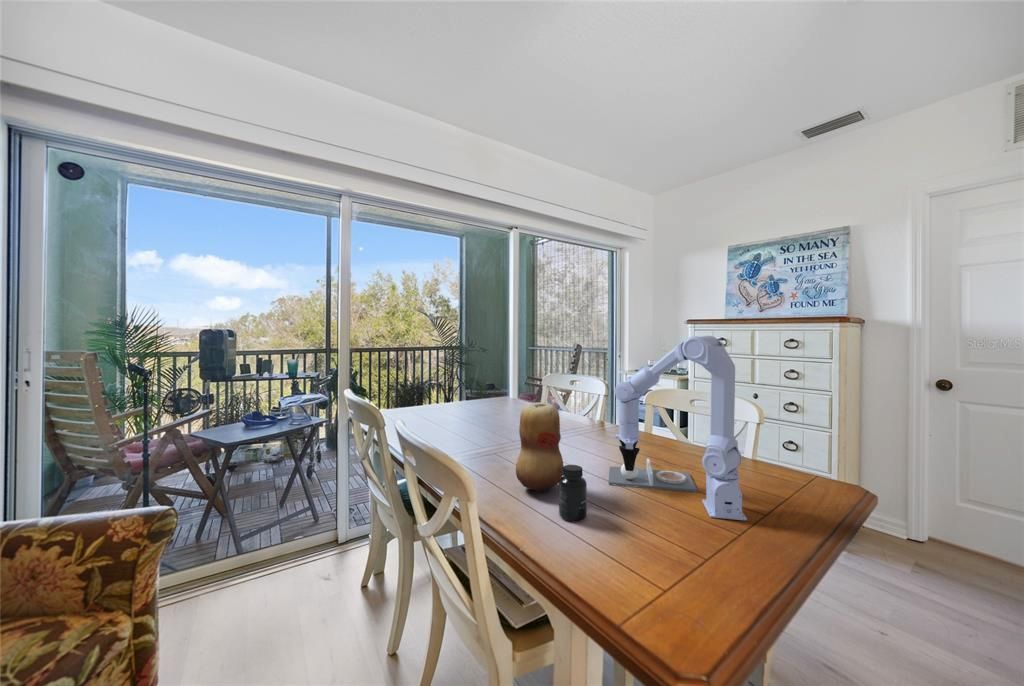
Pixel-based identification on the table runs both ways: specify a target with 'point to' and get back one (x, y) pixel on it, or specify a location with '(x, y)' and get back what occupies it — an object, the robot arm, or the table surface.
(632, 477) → the ball
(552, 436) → the butternut squash
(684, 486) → the board
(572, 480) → the supplement bottle
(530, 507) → the table surface
